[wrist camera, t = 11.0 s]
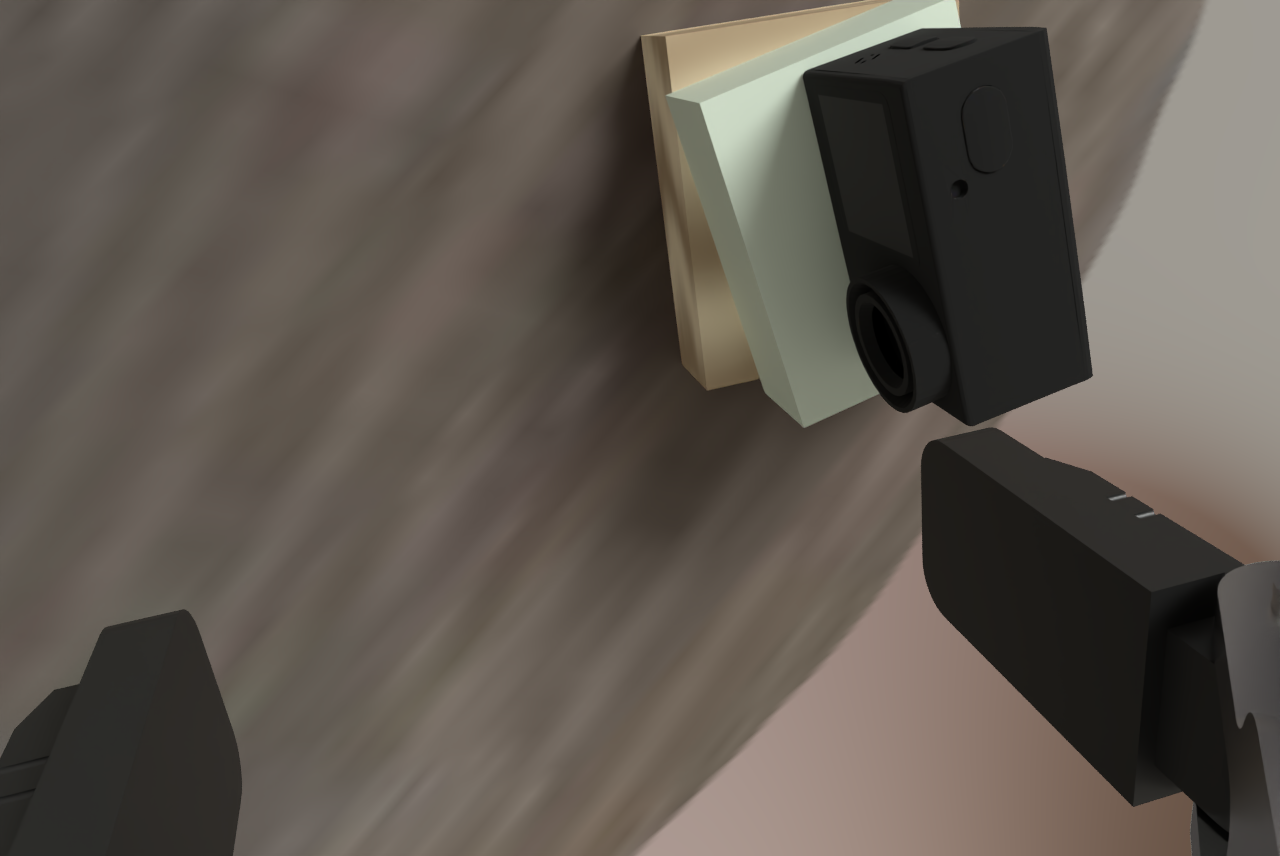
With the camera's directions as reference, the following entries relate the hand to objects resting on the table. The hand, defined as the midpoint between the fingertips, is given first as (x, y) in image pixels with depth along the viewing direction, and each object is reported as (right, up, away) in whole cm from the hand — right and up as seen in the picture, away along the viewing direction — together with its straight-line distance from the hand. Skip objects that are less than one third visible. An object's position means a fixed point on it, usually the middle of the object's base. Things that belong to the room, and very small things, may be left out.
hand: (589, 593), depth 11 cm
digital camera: (+8, +9, +24) cm, 27 cm away
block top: (+8, +10, +27) cm, 30 cm away
